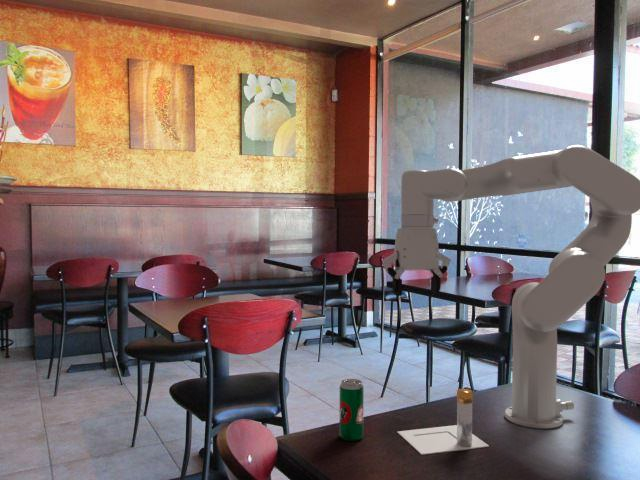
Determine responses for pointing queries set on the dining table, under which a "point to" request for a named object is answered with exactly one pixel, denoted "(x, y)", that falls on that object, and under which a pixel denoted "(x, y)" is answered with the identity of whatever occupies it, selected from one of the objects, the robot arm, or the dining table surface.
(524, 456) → the dining table surface
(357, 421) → the soda can
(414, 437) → the paper
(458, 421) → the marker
